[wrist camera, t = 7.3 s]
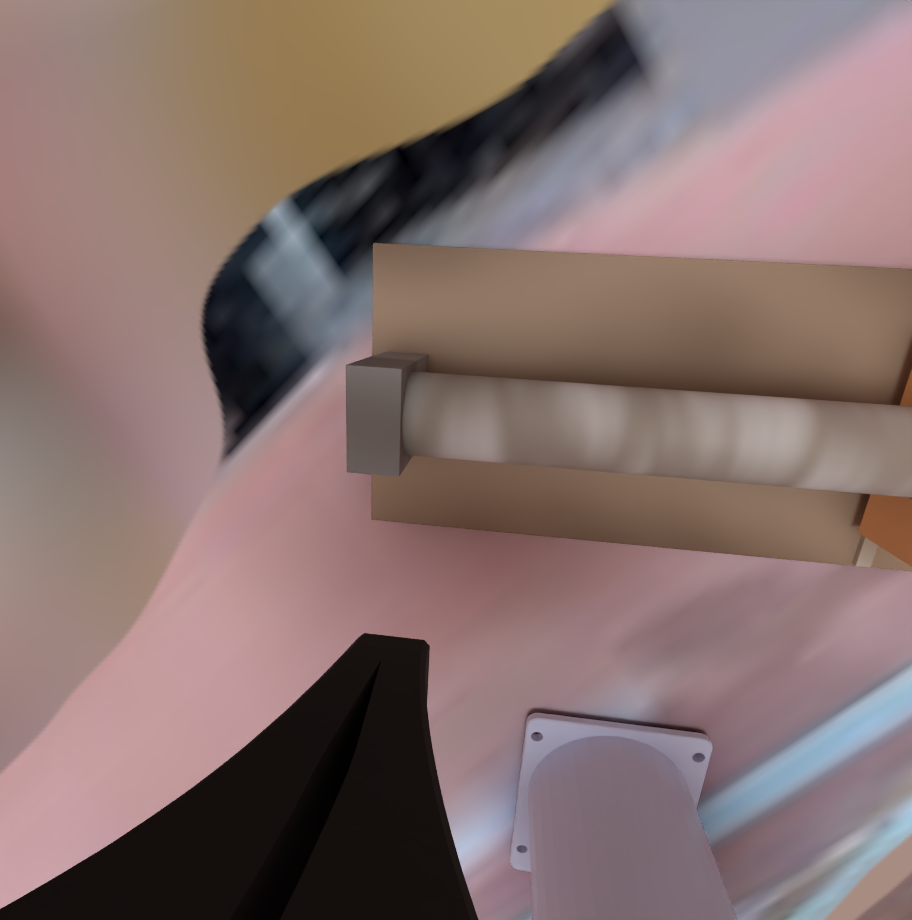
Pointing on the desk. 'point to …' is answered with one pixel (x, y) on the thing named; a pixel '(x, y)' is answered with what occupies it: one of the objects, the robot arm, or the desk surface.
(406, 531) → the desk surface
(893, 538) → the orange rod slider
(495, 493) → the pipe stand
